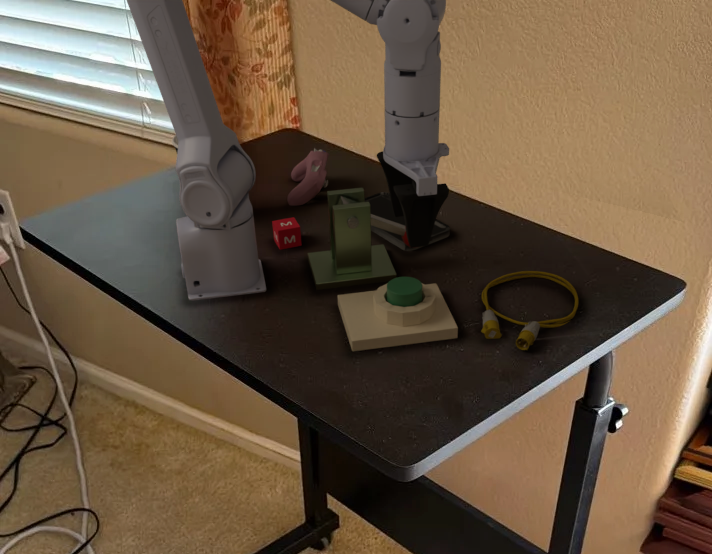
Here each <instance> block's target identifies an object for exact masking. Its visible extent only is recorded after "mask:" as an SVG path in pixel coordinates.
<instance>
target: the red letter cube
mask: <svg viewBox="0 0 712 554" xmlns="http://www.w3.org/2000/svg"><path fill="white" fill-rule="evenodd" d="M271 223H272V233H273V240H274V243H275V245H276V246H277V247H278V249H279V251H281V250H285V249H286V250H287V249H291V248H296V247H301V246H302V232H301V226H300V224H299V223H298V221H297V220H296V218H295V217H287V218H281V219H277V220H272V221H271Z"/></svg>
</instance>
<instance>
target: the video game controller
mask: <svg viewBox="0 0 712 554" xmlns="http://www.w3.org/2000/svg"><path fill="white" fill-rule="evenodd" d="M329 156H330V153H328V152H327V151H326V150H324V149H317V148H316V147H314V148H313V150H310V152H309V153H308V154H307V156H306V157H305V158H304V159H303V160H301V161H300V162H299V163H297V164H296V165H295V166H294V167H293V168H292V171H291V173H290V177H291V180H292V181H294V182H296V183H298V184H297V185H296V186H295V187H294V188H292V190H290V192H289V193H288V195H287V199H286V200H287V204H288V205H289V206H292V207H293V206H294V207H295V206H303V205H305V204H306V203H308V202H310V201H311V200H314V199H315V198H316V197H317V195H318V194H319V193H320V192H321V189H322V188H323V189H326V188H327V187H328V185H329V179H327V180H326V178H327V174H328V170H327V169H326V166H327V163H328V160H329Z"/></svg>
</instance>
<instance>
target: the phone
mask: <svg viewBox="0 0 712 554" xmlns="http://www.w3.org/2000/svg"><path fill="white" fill-rule="evenodd" d="M364 202H369V203H370V211H371V214H372V215H375V216H378V217H381V218H384V219H387V220H390V221H393V222H396V223H399V224H401V225H404V226H405V220H404V216H401V217H395V215H394V212H393V208H392V204H391V199H390V193H389V192H387V191H382V192H377V193H374V194H372V195H369V196H366V197H364ZM371 233H374V234H376V235H377V236H379V237H381V238H382V239H384V240H385V241H387V242H388V243H390V244H392V245H393V246H396V247H397V248H399V249H400V250H403V251H405V252H413V251H415V250H418V249H421V248H423V247H424V246H422V247H417V248H411V247H409V246H407V245H406V244H405V243H404V242H403V239H402V236H401V235H398V234H395V233H392V232H389V231H386V230H383V229H380V228H377V227H374V226H371ZM450 235H451V227H450V226H449V225H448V224H446V223H444V222H443V221H441V220H439V219H438V218H436V220H435V224H434V227H433V231H432V235H431V239H430V242H429V244H428V245H431V244H433V243H436V242H439V241H442V240H444V239H446V238H448V237H449V236H450Z"/></svg>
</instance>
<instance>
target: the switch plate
mask: <svg viewBox="0 0 712 554" xmlns="http://www.w3.org/2000/svg"><path fill="white" fill-rule="evenodd" d="M421 283H422V301H421V302H420V303H419V304H417V305H415V306H409V307H400V306H394V305H392V304H390V303H389V302H388V301H387V284H388V282H386V283H385V284H383V285H380V286H379V287H378V288H377V289H375V290H368V291H361V292H352V293H344V294H337V306H338V310H339V312H340V317H341V319H342V323H343V326H344V329H345V332H346V336H347V339H348V342H349V345H350V349H351V351H352V352H360V351H365V350H366V351H367V350H375V349H382V348H390V347H398V346H405V345H406V346H407V345H413V344H421V343H422V344H423V343H429V342H437V341H438V342H439V341H445V340H452V339H458V335H459V327H458V325H457V323H456V321H455V318H454V316H453V315H452V312H451V311H450V309H449V307H448V306H449V305H448V304H447V302H446V300H445V298H444V296H443V294H442V292H441V290H440V288H439V286H438V283H436V282H435V283H426V284H425V283H423V282H421Z"/></svg>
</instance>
